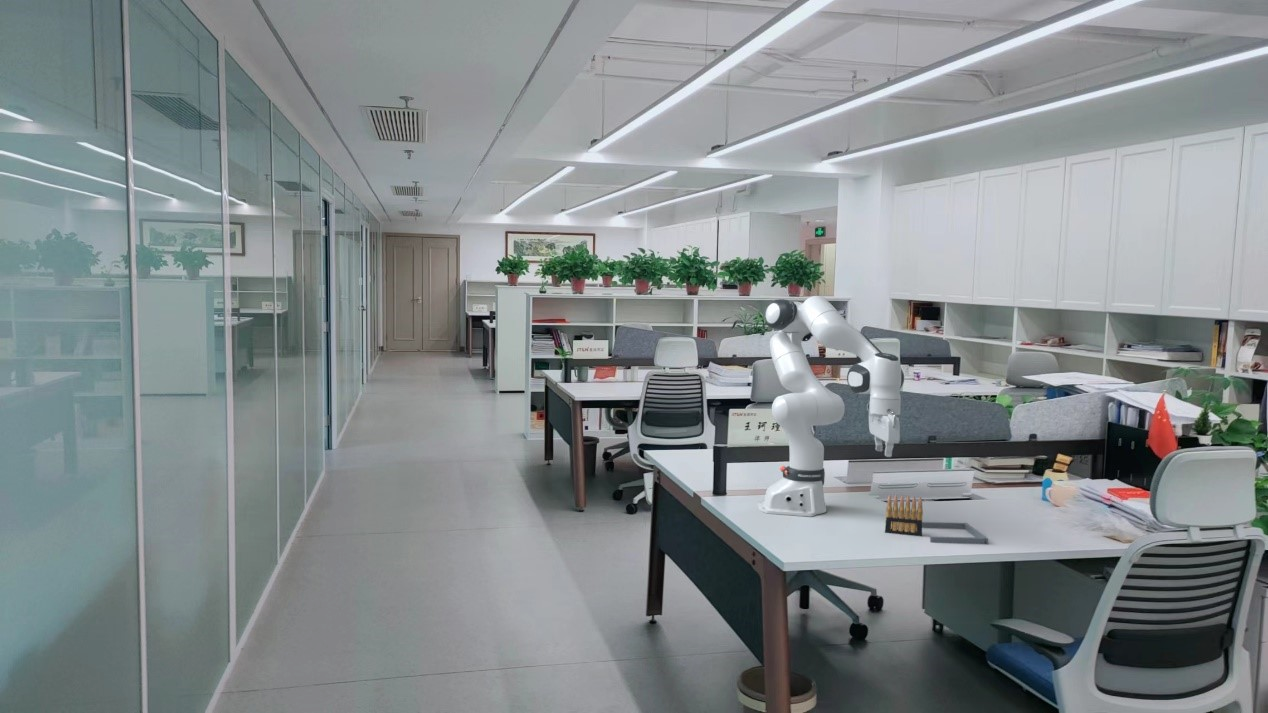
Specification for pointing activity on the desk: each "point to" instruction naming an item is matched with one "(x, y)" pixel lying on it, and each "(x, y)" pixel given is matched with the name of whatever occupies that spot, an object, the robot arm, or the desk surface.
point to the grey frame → (977, 537)
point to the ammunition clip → (904, 517)
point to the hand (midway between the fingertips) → (883, 453)
